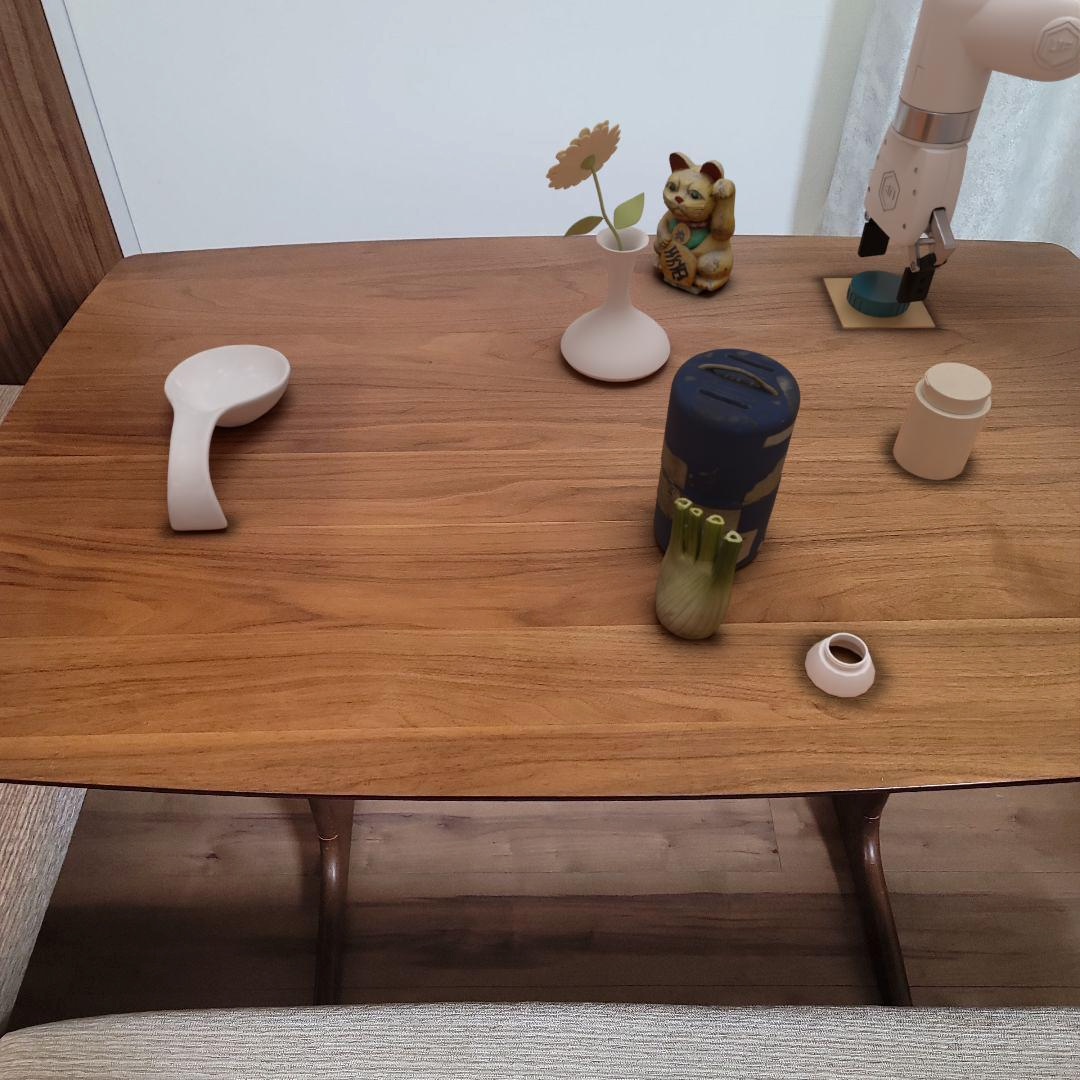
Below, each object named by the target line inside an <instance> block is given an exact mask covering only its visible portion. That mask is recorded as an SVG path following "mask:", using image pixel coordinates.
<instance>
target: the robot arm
mask: <svg viewBox="0 0 1080 1080" xmlns="http://www.w3.org/2000/svg"><path fill="white" fill-rule="evenodd" d="M993 72H996V73H1002V74H1005V75H1009V76H1013V77H1016V78H1021V79H1023V80H1029V81H1033V82H1039V83H1040V82H1042V83H1054V82H1060V81H1064V80H1068V79H1070V78H1073V77H1075V76H1077V75H1079V74H1080V0H922V1H921V5H920V10H919V14H918V18H917V21H916V25H915V30H914V34H913V38H912V41H911V46H910V50H909V54H908V57H907V61H906V66H905V70H904V74H903V78H902V82H901V86H900V89H899V94H898V98H897V102H896V106H895V110H894V114H893V118H892V119H891V121H890V123H889V125H888V127H887V129H886V131H885V133H884V136H883V138H882V141H881V143H880V146H879V149H878V152H877V155H876V158H875V161H874V164H873V167H872V168H871V169H869V170H868V173H867V188H866V191H865V197H864V200H863V206H864V208H865V211H864V213H863V217H864V218H863V219H864V221H865V222H864V224H863V229H862V233H861V237H860V241H859V244H858V249H857V255H858V256H859V258H868V257H869V258H870V257H877V256H878V257H879V256H884V255H885V254H887V250H888V246H889V242H890V239H891V241H892V242H893V243H894V244H895V245H896V246H898V247H900V248H908V249H907V250H908V261H909V266H906V267H904V270H903V273H902V276H901V277H902V280H901V283H900V287H899V290H898V294H897V297H896V300H897V301H898V303H900V304H902V303H909V302H917V301H922V302H924V301H925V300H926V299H927V298H928V294H929V292H930V288H931V285H932V282H933V279H934V275H935V272H936V270H940V269H941V267H942V266H944V265H945V264H947V262H948V259H949V258H950V257H951V256H952V254H953V253H954V252H955V251H956V249H957V242H956V238H955V236H954V233H953V231H952V228H951V223H952V221H953V218H954V214H955V211H956V208H957V203H958V200H959V195H960V192H961V187H962V183H963V178H964V173H965V168H966V162H967V155H968V149H969V145H968V144H969V143H970V141H971V140H972V137H973V133H974V130H975V128H976V124H977V121H978V117H979V114H980V111H981V108H982V106H983V102H984V98H985V95H986V92H987V89H988V86H989V83H990V79H991V77H992V73H993ZM923 234H924V235H925V236H927V237H922V236H923ZM924 246H927V247H928V253H927V254H925V255H923V256H921V252H920V251H921V250H920V247H924Z"/></svg>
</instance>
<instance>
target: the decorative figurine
mask: <svg viewBox="0 0 1080 1080" xmlns="http://www.w3.org/2000/svg"><path fill="white" fill-rule="evenodd" d="M668 161H669V167H670V170H671V174H670V175H669V176H668V178H667V180H666V182H665V185H664V189H663V190H662V199H663V203H664V205H665V206H666V208H667V210H666V212H665V213H663V215H662V217H661V219H659V221H658V223H657V226H656V235H655V238H654V240H653V245H652V246H653V250H654V252H655V253H656V255H657V256H656V257H655V258H654V260H653V262H652V263H653V265H652V266H653V270H655V271H656V272H658V273H661V274H663V276H664V277H663V281H664V282H666V283H669V284H670V285H671V286H673V287H676V288H680V289H682V290H685V291H687V292H689V293H692V294H694V295H699V294H700V293H702V292H703V291H704V290H705V291H707V290H708V291H709V292H713V291H715V290H718V289H719V288H721V287H723V285H725V284H726V283H727V282H728V281H729V278H730V275H731V272H732V270H733V267H734V259H735V257H734V253H733V250H732V243H731V238H732V237H733V236H734V233H735V230H736V218H735V207H736V205H735V204H736V193H737V190H736V184H735V183H734V181H733V180H731V179H729V178H725V170H724V166H723V165H722V163H721V162H720V161H718V160H716V159H710V160H707V161H705V162H704V163H702V164H695V162H693V160H692V159H691V158H690V157H689V156H688V155H686V154H685V153H683V152H680V151H673V152H671V153H670V154H669V157H668Z"/></svg>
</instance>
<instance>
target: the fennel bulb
mask: <svg viewBox="0 0 1080 1080" xmlns="http://www.w3.org/2000/svg"><path fill="white" fill-rule="evenodd" d="M692 507H693V502H692V501H689V500H688V499H687V498H677V499H676V500H675V501H674V511H673V524H672V530H671V538H670V543H669V546H668V549H667V551H666V552H665V554H664V557H663V558H662V560H661V563H660V566H659V571H658V574H657V578H656V583H655V613H656V616H657V619H658V620H659V621H660V624H661V625H662V626H663V627H664V628H666V630H668V631H669V632H670V633H672V634H674V635H675V636H678V637H680V638H683V639H687V640H693V641H694V640H701V639H706V638H709V637H710V636H711V635H713V634H714V632H716V631H717V630H718V629H719V628H720V626H721V625H722V623H723V621H724V619H725V617H726V614H727V612H728V610H729V609H728V608H729V606H730V602H731V598H732V592H733V583H734V577H735V572H736V569H735V566H736V562H737V559H738V556H739V552H740V549H741V546H742V542H743V541H742V538H741V537H740V534H738V533H737V532H735V531H732V530H731V531H730V532H729V533H728V534H727V535H726V536H725V537H724V539H723V542H722V545H721V540H722V536H723V529H724V524H725V522H724V520H723V518H722V517H721V516H718V515H712V516H710V517H709V518H707V519H706V521H705V525H704V531H703V535H702V524H703V511H702V510H701V509H699V508H692ZM720 546H721V548H720Z"/></svg>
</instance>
